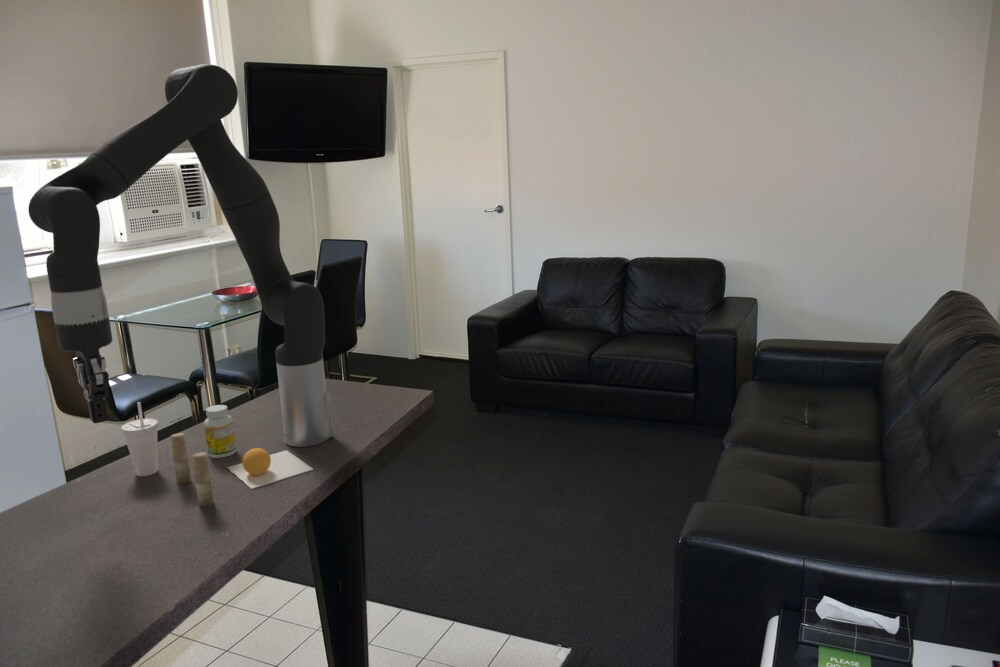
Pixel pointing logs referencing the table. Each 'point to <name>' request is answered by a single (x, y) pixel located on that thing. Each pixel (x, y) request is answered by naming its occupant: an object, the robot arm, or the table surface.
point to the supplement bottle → (219, 432)
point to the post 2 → (202, 479)
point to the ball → (256, 461)
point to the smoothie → (142, 443)
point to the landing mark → (272, 470)
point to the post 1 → (180, 458)
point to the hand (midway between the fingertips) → (99, 420)
